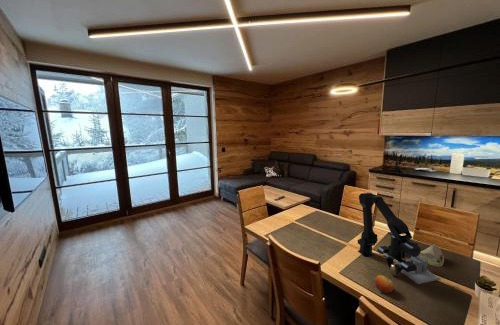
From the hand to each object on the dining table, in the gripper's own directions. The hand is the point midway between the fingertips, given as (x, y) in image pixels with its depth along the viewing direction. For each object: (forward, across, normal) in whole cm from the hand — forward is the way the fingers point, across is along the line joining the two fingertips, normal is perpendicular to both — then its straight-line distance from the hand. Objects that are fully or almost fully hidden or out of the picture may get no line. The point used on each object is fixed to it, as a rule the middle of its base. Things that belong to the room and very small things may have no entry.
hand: (394, 272), depth 113 cm
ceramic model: (+3, +6, -34) cm, 34 cm away
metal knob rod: (+1, 0, -7) cm, 7 cm away
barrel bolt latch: (+2, 0, -13) cm, 14 cm away
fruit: (+2, -7, +14) cm, 15 cm away
